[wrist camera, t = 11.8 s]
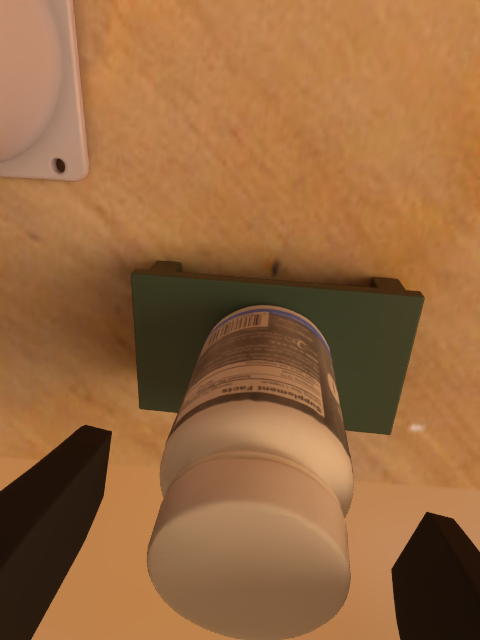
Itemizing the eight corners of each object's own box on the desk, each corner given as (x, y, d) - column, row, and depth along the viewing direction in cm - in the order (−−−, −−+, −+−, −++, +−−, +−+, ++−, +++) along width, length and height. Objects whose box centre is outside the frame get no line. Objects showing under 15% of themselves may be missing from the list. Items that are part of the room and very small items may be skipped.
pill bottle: (313, 423, 17) (334, 674, 9) (195, 399, 17) (119, 628, 9) (347, 315, 15) (409, 523, 7) (212, 288, 15) (133, 465, 7)
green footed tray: (154, 378, 19) (138, 409, 17) (149, 254, 17) (129, 273, 15) (379, 400, 19) (391, 435, 17) (408, 274, 16) (425, 297, 14)
